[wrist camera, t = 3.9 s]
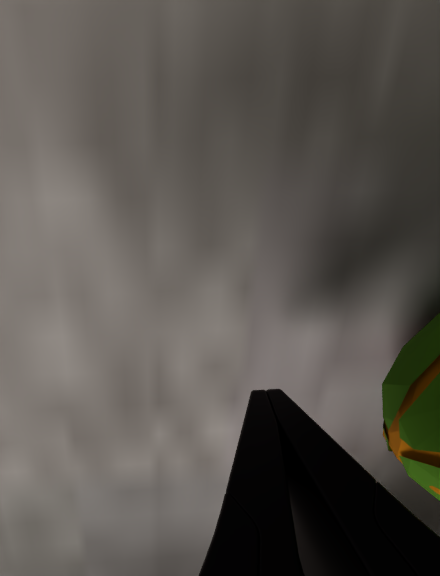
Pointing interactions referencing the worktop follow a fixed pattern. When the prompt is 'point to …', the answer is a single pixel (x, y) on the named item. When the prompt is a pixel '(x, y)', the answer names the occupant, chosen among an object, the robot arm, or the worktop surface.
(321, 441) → the robot arm
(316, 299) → the worktop surface
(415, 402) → the corn
